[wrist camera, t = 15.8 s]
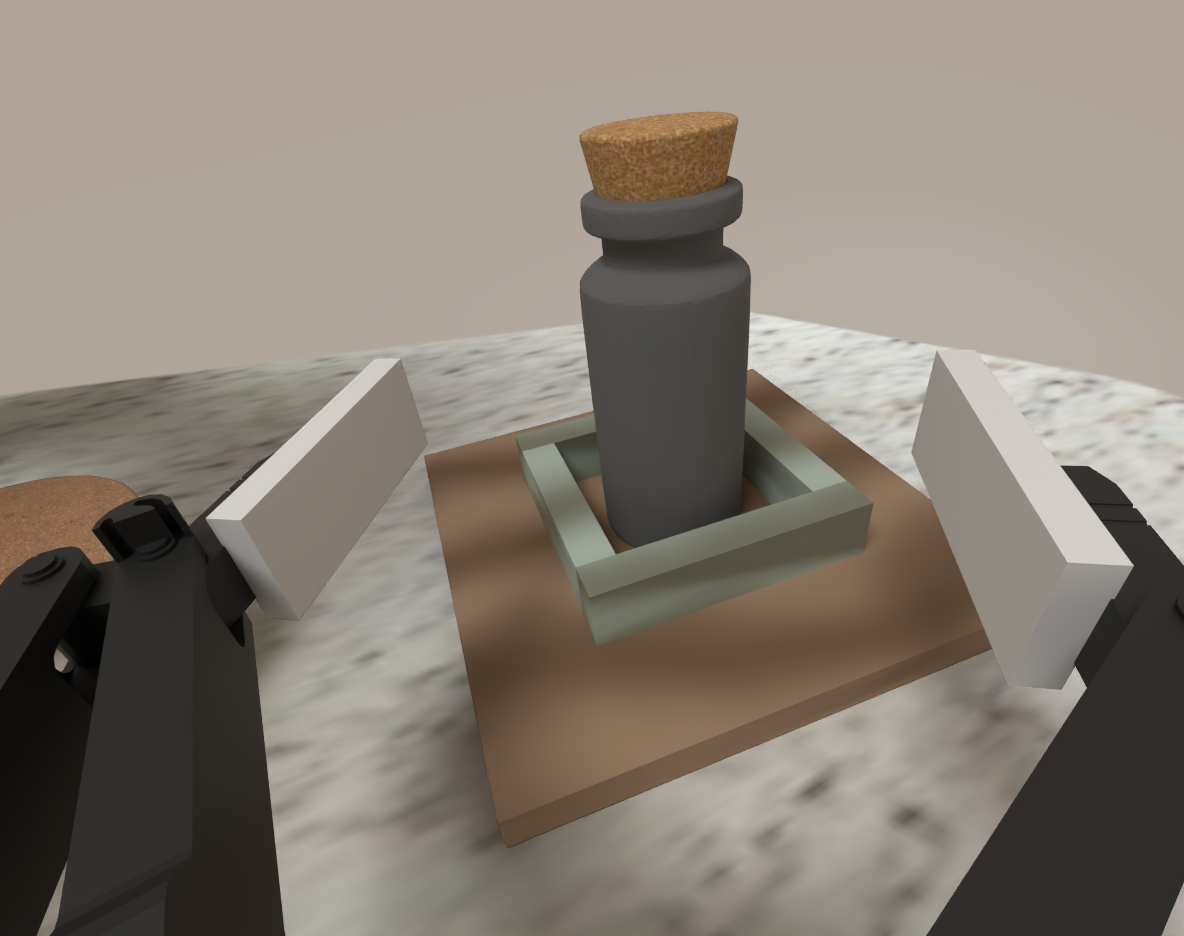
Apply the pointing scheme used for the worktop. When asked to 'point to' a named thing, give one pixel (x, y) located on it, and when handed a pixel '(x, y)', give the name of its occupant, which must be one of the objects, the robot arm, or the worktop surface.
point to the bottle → (666, 322)
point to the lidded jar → (56, 520)
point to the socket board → (682, 607)
